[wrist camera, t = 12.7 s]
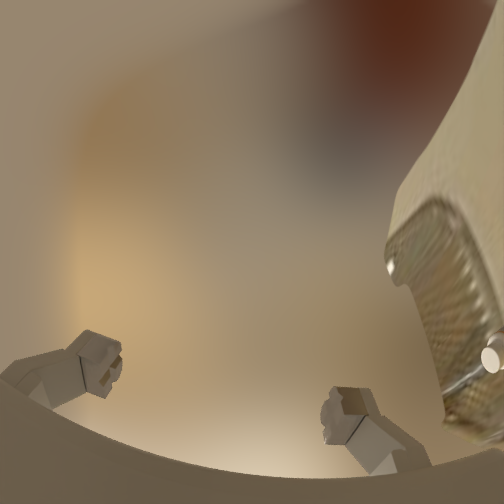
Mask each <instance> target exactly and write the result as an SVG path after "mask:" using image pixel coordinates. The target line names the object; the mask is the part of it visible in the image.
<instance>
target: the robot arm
mask: <svg viewBox="0 0 504 504" xmlns="http://www.w3.org/2000/svg"><path fill="white" fill-rule="evenodd" d="M121 350H122V349H121V343H120V342H119V341H117V340H114V339H111V338H108V337H106V336H103V335H101V334H97V333H95V332H92V331H90V330H85V331H83V332H82V333H81V334H80V335H79V336H78V337H77V338H76V339H75V340H74V341H73V343H72V344H70V345H69V346H68V347H67V348H66V350H64V349H59V350H56V351H52V352H48V353H44V354H40V355H36V356H32V357H28V358H24V359H20V360H15V361H14V362H13V363H12V364H11V365H10V366H8V367H7V368H6V369H5V370H4V371H3V372H2V373H1V374H0V504H504V451H502V450H500V449H498V448H491V449H488V450H486V451H483V452H480V453H477V454H474V455H471V456H468V457H465V458H461V459H458V460H455V461H451V462H447V463H444V464H439V465H435V466H432V464H431V462H430V459H429V457H428V455H427V453H426V450H425V448H424V446H423V445H422V444H421V443H419V442H418V441H417V440H415V439H414V438H413V437H411V436H410V435H409V434H407V433H406V432H405V431H404V430H402V429H401V428H400V427H398V426H397V425H396V424H394V423H393V422H392V421H390V420H389V419H388V418H387V417H385V416H381V414H380V412H379V409H378V407H377V404H376V402H375V399H374V397H373V394H372V392H371V390H370V389H369V388H351V387H350V388H349V387H336V386H334V387H333V388H332V389H331V391H330V392H329V396H330V398H329V399H328V400H326V401H325V402H324V404H323V406H322V410H321V423H322V424H323V425H324V426H325V429H324V431H323V435H324V441H325V444H328V445H345V447H346V448H347V449H348V450H349V451H350V453H351V454H352V455H353V456H354V457H355V459H356V460H357V461H358V462H359V463H360V464H361V465H362V467H363V468H364V469H365V470H366V471H367V472H368V473H369V475H370V476H366V477H353V478H331V479H304V478H282V477H269V476H259V475H250V474H243V473H236V472H229V471H224V470H218V469H213V468H207V467H203V466H198V465H194V464H189V463H185V462H181V461H177V460H173V459H169V458H166V457H163V456H159V455H156V454H153V453H150V452H146V451H143V450H140V449H137V448H134V447H131V446H129V445H126V444H123V443H120V442H118V441H116V440H113V439H111V438H108V437H106V436H103V435H101V434H98V433H96V432H94V431H92V430H89V429H87V428H85V427H83V426H80V425H78V424H77V423H74V422H72V421H70V420H68V419H66V418H64V417H62V416H61V415H59V414H57V413H55V412H53V411H52V409H54V408H56V407H58V406H60V405H62V404H64V403H66V402H68V401H70V400H72V399H74V398H76V397H78V396H80V395H82V394H84V393H86V392H89V393H91V394H94V395H96V396H99V397H101V398H104V399H105V398H106V397H107V395H108V394H109V392H110V391H111V389H112V383H113V382H115V381H117V380H118V378H119V376H120V374H121V370H122V358H121V357H120V355H119V353H120V352H121Z"/></svg>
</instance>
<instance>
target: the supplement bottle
mask: <svg viewBox="0 0 504 504" xmlns="http://www.w3.org/2000/svg"><path fill="white" fill-rule="evenodd" d="M481 359H482V363H483V365H484V367H485V369H486V370H487V371H489V372H491V373H495V372H497V371H498V370H499V369H504V326H503V327H502V328H500V329H499V330H498V331H497V332H496V333H494V334H493V335H492V336H491V337H490V339H489V341H488V345H487V347H486V348H484V350H483V351H482V355H481Z"/></svg>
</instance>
